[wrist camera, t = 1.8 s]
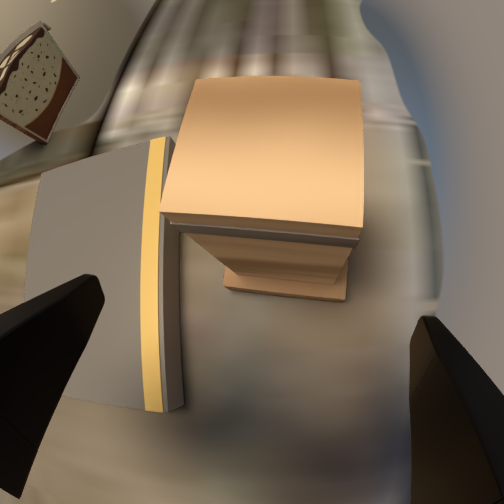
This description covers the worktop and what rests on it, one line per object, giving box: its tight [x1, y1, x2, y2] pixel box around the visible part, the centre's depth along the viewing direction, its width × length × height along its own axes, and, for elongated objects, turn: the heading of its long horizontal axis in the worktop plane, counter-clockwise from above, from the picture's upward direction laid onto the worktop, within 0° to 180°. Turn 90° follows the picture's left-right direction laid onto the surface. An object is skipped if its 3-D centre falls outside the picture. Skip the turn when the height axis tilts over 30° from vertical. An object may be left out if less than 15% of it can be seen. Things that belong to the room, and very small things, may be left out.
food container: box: [0, 21, 80, 143], centre depth 24 cm, size 12×6×10 cm, turn 171°
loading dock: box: [24, 137, 184, 413], centre depth 21 cm, size 18×13×3 cm
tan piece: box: [158, 76, 364, 302], centre depth 14 cm, size 6×7×12 cm
